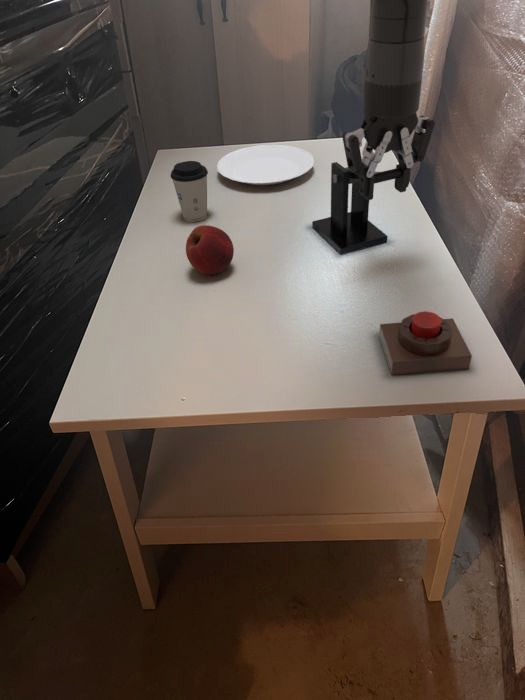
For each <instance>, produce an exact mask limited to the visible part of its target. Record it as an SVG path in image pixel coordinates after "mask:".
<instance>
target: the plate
mask: <svg viewBox="0 0 525 700" xmlns="http://www.w3.org/2000/svg"><path fill="white" fill-rule="evenodd" d="M314 164H315V157H313V155H312V154H311V153H310V152H308V151H307V150H305V149H302V148H301V147H300V148H299V147H297V146H292V145H286V144H257V145H252V146H247V147H243V148H240V149H237V150H234V151H231V152H229V153H227V154H226V155H224V156H223V157H221V158H220V159H219V161H218V162H217V165H216V169H217V171H218V173H219V174H220V175H221V176H223V178H226V179H229V180H231V181H235V182H239V183H242V184H247V185H250V186H273V185H277V184H282V183H285V182H288V181H291V180H292V179H295V178H299V177H300V176H302V175H304V174H306V173H308V172H309V171H310V170H311V169H312V168H313V167H314Z"/></svg>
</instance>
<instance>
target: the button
mask: <svg viewBox="0 0 525 700" xmlns="http://www.w3.org/2000/svg"><path fill="white" fill-rule="evenodd" d="M414 314H415V315H414V316H413V318H412V326H411V331H412V333H413V334H414V335H415V336H417V337H421V338H425V339H429V338H435V337H436V336H438V335H439V333H440V328H441V322H442V321H441V318H442V317H441V316H439V314H437V313H435V312H432V311H425V310H424V311H418V312H416V313H414ZM440 317H441V318H440Z"/></svg>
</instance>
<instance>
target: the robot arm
mask: <svg viewBox="0 0 525 700" xmlns="http://www.w3.org/2000/svg"><path fill="white" fill-rule="evenodd" d="M428 9H429V0H370V1H369V25H368V27H369V28H368V42H367V48H366V54H365V64H364V82H363V83H364V84H363V87H364V89H363V104H362V105H363V107H362V109H363V120H362V123H361V125H360V128H358V129H356V130H354V131H352V132H351V131H348V130H345V131H343V133H342V136H341V138H342V143H343V149H344V153H345V160H346V164H347V167H348V169H349V170H351V171H352V172H353V173H355V174H356V175H357V176H360V185H359V187H360V188H359V192H360V194H361V195H362V196H363V197H364V198H365V199H366V200H369V201H371V200H373V199H374V192H375V184H374V178H375V177H374V176H373V175H374V172H376V170H377V167H378V164H379V163H381V162H382V160H383V158H384V155H385V154H387V153H389V152H391V151H394V152H395V156H396V159H397V163H398V164H396V166H395V168H400V169H401V170H402V176H401V177H400V178H396V179H394V186H393V187H394V189H395V190H396V191H397V192H399V193H404V192H405V193H406V191H407V188H409V185H410V180H411V170H412V168H413V167H414V165H415V164H416V163H417V162H419V163H422V162H423V161H424V160H425V157H426V154H427V150H428V147H429V144H430V141H431V138H432V134H433V131H434V128H435V125H436V121H435V120H434V119H432V118H430V117H429V116H426V115H420V116H418V114H417V112H418V111H419V109H420V101H421V100H420V99H421V91H422V85H423V84H422V83H423V82H422V81H423V73H424V64H425V39H426V37H425V36H426V35H425V34H426V25H427V17H428ZM412 134H413V136H412V140H410V137H411V135H412ZM363 139H364V140H365V143H364V146H363ZM362 146H363V149H362V152H361V147H362Z"/></svg>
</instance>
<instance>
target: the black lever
mask: <svg viewBox="0 0 525 700" xmlns="http://www.w3.org/2000/svg"><path fill="white" fill-rule="evenodd" d="M344 168H345V169H347V170H348V171H349V185H352V183H356V182H360V176H357V175H356V174H355V173H353V172H352V171H351V170H349V169H348V166H347V167H344ZM373 176H374V177H375V178H374V185H375V184H379V183H383V182H387V181H392V180H395V179H396V178H400V177H401V176H402V170H401V169H400V168H396V167H395V168H391V169H387V170H382V171H375V172H374V175H373Z"/></svg>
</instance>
